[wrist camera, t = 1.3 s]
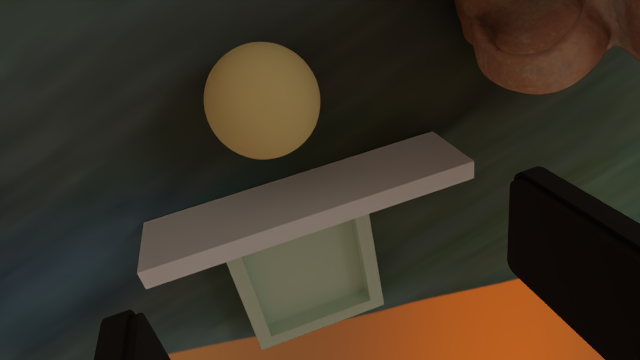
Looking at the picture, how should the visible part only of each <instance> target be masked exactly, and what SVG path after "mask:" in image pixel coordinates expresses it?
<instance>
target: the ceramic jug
mask: <svg viewBox="0 0 640 360" xmlns="http://www.w3.org/2000/svg"><path fill="white" fill-rule="evenodd" d="M454 3H455V6H456V10H457V13H458V17H459V19H460V20H461V26H462V32H463V35H464V38H465V40H466V41H467V42H469V43H470V44H471V45H473V46H474V51H475V56H476V60H477V64H478V67H479V69H481V71H482V73H483V74H484V75H485V76H486V77H487V78H489V79H490V80H491V81H493V82H494V83H496V84H498V85H500V86H501V87H503V88H506V89H509V90H512V91H516V92H521V93H526V94H548V93H554V92H558V91H560V90H563V89H565V88H568V87H569V86H571V85H573V84H575V83H576V82H577V81H579V80H580V79H582V78H583V77H584V76H585V75H586V74H587V73H588V72H589V71H590V70H591V69H592V68H593V67H595V65H596V64H597V63H598V62H599V61H600V60H601V58H602V57H603V55H604V54H605V52H606V50H608V49H609V48H611V47H612V46H614V45H615V46H619V47H621V48H622V49H624V50H625V51H626V52H627V53H628V54H630V55H631V56H633V57H634V58H635V59H637V60H639V61H640V0H454Z"/></svg>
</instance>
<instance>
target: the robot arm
mask: <svg viewBox="0 0 640 360" xmlns="http://www.w3.org/2000/svg"><path fill="white" fill-rule="evenodd" d="M507 262H508V265H509V267H510V269H511V270H512V272H513V273H514V274H515V275H516V276H517V277H518V278H519V279H520V280H521V281H522V282H524V283H525V284H526V285H527V286H528V287H529V288H530V289H531V290H532V291H533V292H534V293H535V294H536V295H537V296H538V297H539V298H541V299H542V300H543V301H544V302H545V303H546V304H547V305H548V306H549V307H550V308H551V309H552V310H553V311H554V312H555V313H556V314H557V315H558V316H560V317H561V318H562V319H563V320H564V321H565V322H566V323H567V324H568V325H569V326H570V327H571V328H572V329H573V330H574V331H576V333H578V334H579V335H580V336H581V337H582V338H583V339H584V340H585V341H586V342H587V343H588V344H589V345H590V346H591V347H592V348H593V349H594V350H596V351H597V352H598V353H599V354H600V355H601V356H602V357H603V358H604V359H605V360H640V224H639V223H638V222H636V221H634V220H633V219H631V218H629V217H627V216H626V215H624V214H622V213H621V212H619V211H617V210H615V209H614V208H612V207H610V206H609V205H607V204H605V203H603V202H602V201H600V200H598V199H597V198H595V197H593V196H591V195H590V194H588V193H586V192H584V191H583V190H581V189H579V188H578V187H576V186H574V185H572V184H571V183H569V182H567V181H566V180H564V179H562V178H560V177H559V176H557V175H555V174H554V173H552V172H550V171H548V170H547V169H545V168H543V167H540V166H538V167H534V168H531V169H528V170H525V171H523V172H520V173H518V174H516V175H515V177H514V181H512V182H511V184H510V200H509V226H508V252H507ZM94 360H170V358H169V356H168V354H167V353H166V351H165V349H164V348H163V346H162V344H161V343H160V341H159V339H158V337H157V336H156V334H155V332H154V331H153V329H152V327H151V325H150V324H149V322H148V320H147V319H146V317H145V315H144V314H143V313H138V314H135V313H134V312H133V311H132V310H127V311H124V312H121V313H119V314H116V315H113V316H110V317H107V318H104V319H103V320H102V323H101V326H100V331H99V336H98V341H97V346H96V351H95V356H94Z"/></svg>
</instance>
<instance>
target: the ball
mask: <svg viewBox="0 0 640 360" xmlns="http://www.w3.org/2000/svg"><path fill="white" fill-rule="evenodd" d="M204 109H205V113H206V117H207V120H208V122H209V125H210V127H211V129H212V130H213V132H214V134H215V135H216V136H217V137H218V139H219V140H220V141H221V142H222V143H223V144H224V145H225V146H227V147H228V148H229V149H231V150H232V151H234V152H236V153H238V154H240V155H243V156H245V157H249V158H253V159H274V158H278V157H281V156H284V155H287V154H289V153H291V152H293V151H294V150H296V149H297V148H298V147H300V146H301V145H302V144H303V143H304V142H305V141H306V140H307V139H308V137H309V136H310V135H311V133H312V131H313V130H314V128H315V126H316V123H317V121H318V117H319V112H320V91H319V87H318V84H317V81H316V78H315V76H314V74H313V72H312V71H311V69H310V68H309V66H308V65H307V64H306V62H305V61H304V60H303V59H302V58H301V57H300V56H299V55H297V54H296V53H294V52H293V51H291V50H289V49H288V48H286V47H284V46H281V45H278V44H275V43H270V42H253V43H247V44H244V45H241V46H238V47H236V48H234V49H232V50H231V51H229V52H228V53H226V54H225V55H224V56H223V57H222V58H221V59H219V61H218V62H217V63H216V64H215V65H214V67H213V69H212V70H211V72H210V74H209V76H208V78H207V81H206V85H205V90H204Z"/></svg>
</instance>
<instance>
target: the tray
mask: <svg viewBox="0 0 640 360" xmlns="http://www.w3.org/2000/svg"><path fill="white" fill-rule="evenodd" d="M226 263H227V266H228V268H229V271H230V273H231V276H232V278H233V280H234V283H235V285H236V288H237V290H238V293H239V295H240V298H241V300H242V302H243V305H244V307H245V310H246V312H247V315H248V317H249V320H250V322H251V325H252V327H253V329H254V332H255V334H256V337H257V339H258V342H259V344H260V346H261V349H262V350H264V349H266V348H269V347H272V346H274V345H277V344H280V343H282V342H285V341H288V340H290V339H293V338H296V337H299V336H301V335H304V334H307V333H309V332H312V331H314V330H317V329H320V328H323V327H325V326H328V325H331V324H333V323H336V322H339V321H341V320H344V319H347V318H349V317H352V316H355V315H357V314H360V313H363V312H365V311H368V310H371V309H373V308H376V307H379V306H381V305H384V301H383V295H382V289H381V283H380V277H379V271H378V265H377V259H376V253H375V247H374V241H373V235H372V229H371V223H370V217H369V214H367V215H364V216H361V217H358V218H355V219H352V220H349V221H346V222H343V223H340V224H337V225H334V226H331V227H328V228H325V229H323V230H320V231H317V232H314V233H311V234H308V235H305V236H302V237H299V238H296V239H293V240H290V241H287V242H284V243H281V244H278V245H275V246H272V247H269V248H266V249H263V250H261V251H258V252H255V253H252V254H249V255H246V256H243V257H240V258H237V259H234V260H231V261H228V262H226Z"/></svg>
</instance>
